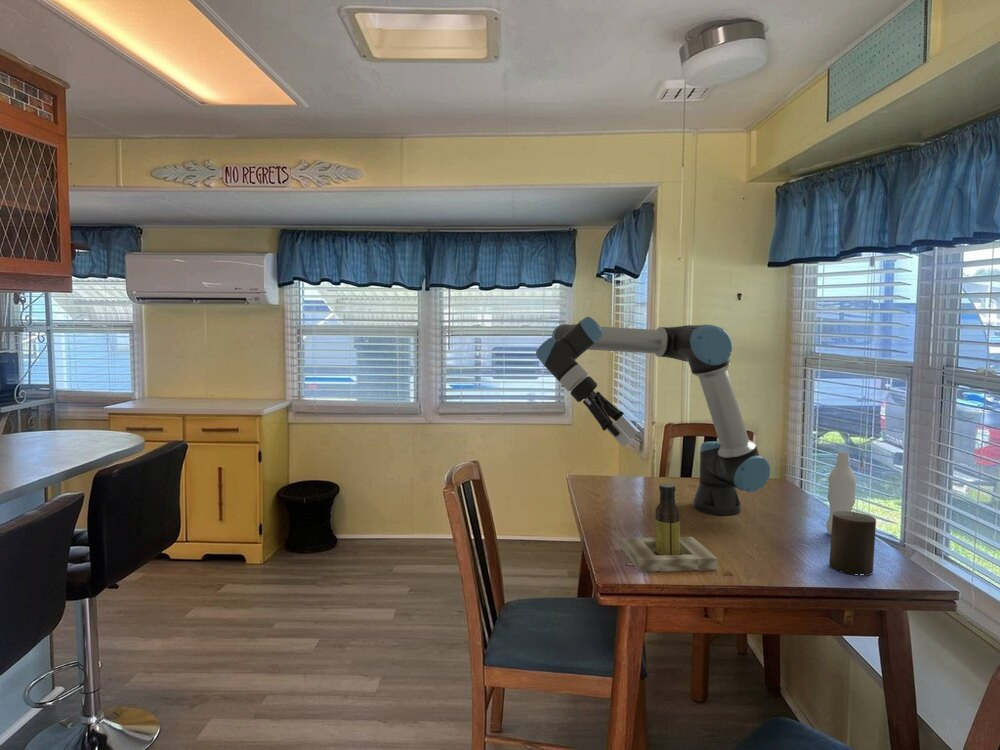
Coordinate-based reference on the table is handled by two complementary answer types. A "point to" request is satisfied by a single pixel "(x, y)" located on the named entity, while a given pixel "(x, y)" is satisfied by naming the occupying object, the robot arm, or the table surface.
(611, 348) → the robot arm
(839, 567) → the pillar candle
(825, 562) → the table surface
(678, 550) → the sauce bottle
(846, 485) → the water bottle
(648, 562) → the birch stand
